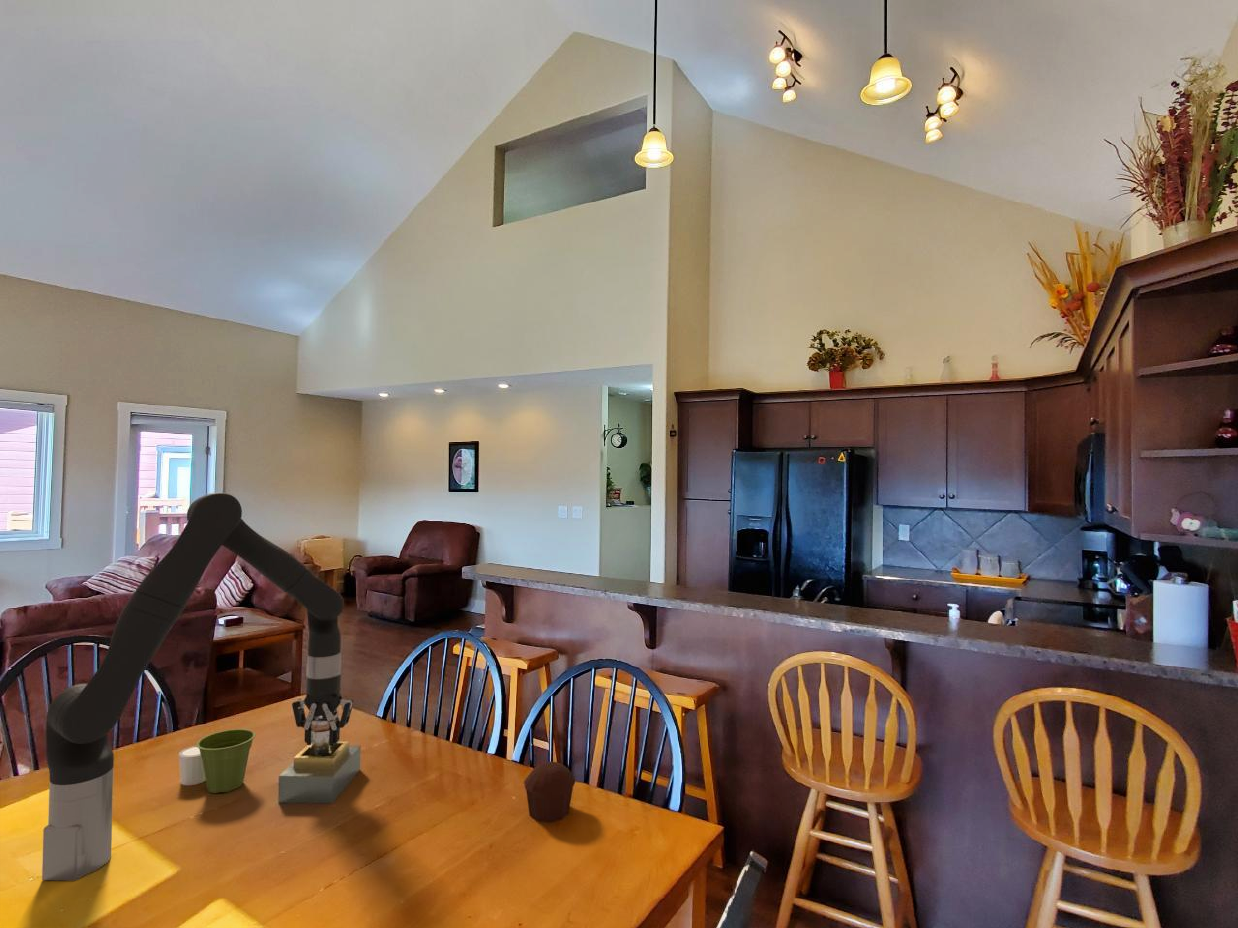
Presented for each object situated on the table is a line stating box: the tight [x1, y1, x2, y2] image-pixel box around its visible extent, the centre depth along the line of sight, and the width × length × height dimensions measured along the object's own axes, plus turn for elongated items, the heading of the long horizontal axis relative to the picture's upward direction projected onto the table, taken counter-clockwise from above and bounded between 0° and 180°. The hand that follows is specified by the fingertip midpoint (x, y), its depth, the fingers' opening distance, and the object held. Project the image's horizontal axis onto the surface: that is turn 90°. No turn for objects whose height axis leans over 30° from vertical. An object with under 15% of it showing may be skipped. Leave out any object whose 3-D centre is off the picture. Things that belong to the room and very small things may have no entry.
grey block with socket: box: [277, 740, 362, 804], centre depth 151 cm, size 16×12×8 cm
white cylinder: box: [178, 745, 206, 786], centre depth 152 cm, size 7×7×7 cm
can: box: [310, 716, 334, 756], centre depth 150 cm, size 5×5×9 cm
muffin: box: [523, 761, 576, 823], centre depth 141 cm, size 12×11×10 cm
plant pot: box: [195, 728, 256, 794], centre depth 149 cm, size 12×12×11 cm
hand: (322, 743), depth 150 cm, fingers closed on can, 5 cm apart
